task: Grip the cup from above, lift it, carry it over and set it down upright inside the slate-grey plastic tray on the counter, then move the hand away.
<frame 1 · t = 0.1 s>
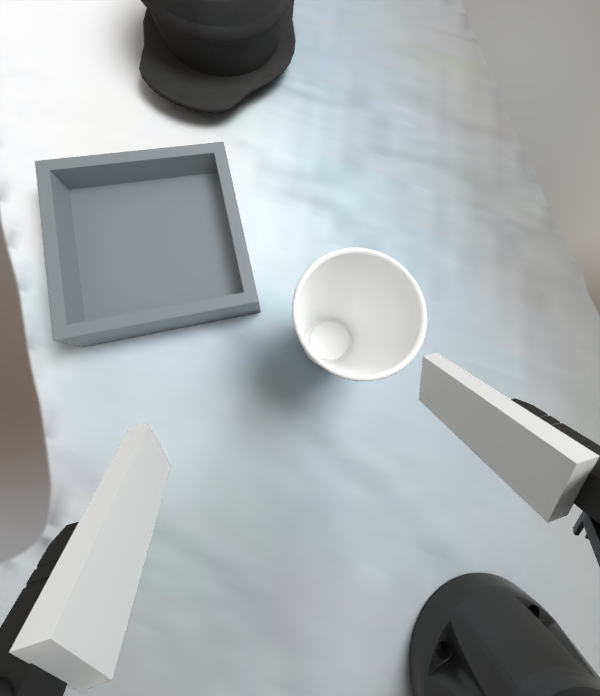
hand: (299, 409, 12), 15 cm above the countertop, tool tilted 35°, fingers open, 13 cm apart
tray: (161, 250, 29), on the countertop
casserole: (224, 53, 35), on the countertop
cup: (328, 341, 29), on the countertop
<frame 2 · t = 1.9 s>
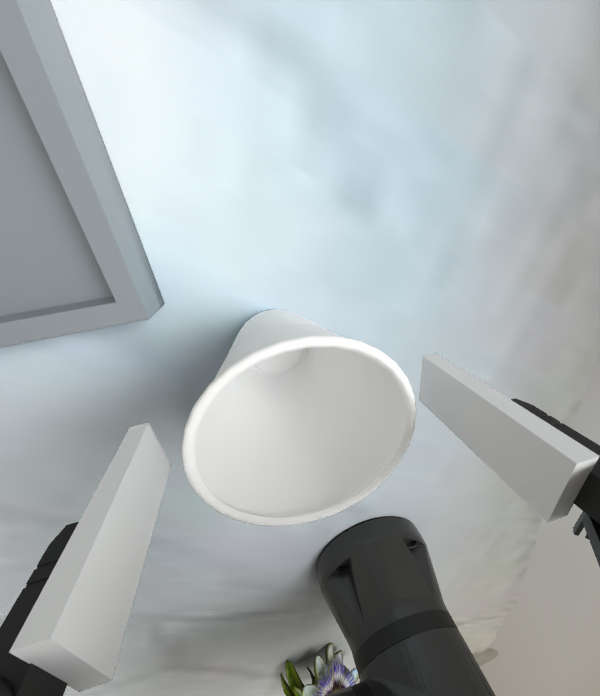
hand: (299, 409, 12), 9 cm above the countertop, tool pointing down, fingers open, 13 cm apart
passion flower: (314, 654, 47), on the countertop
cup: (275, 344, 21), on the countertop
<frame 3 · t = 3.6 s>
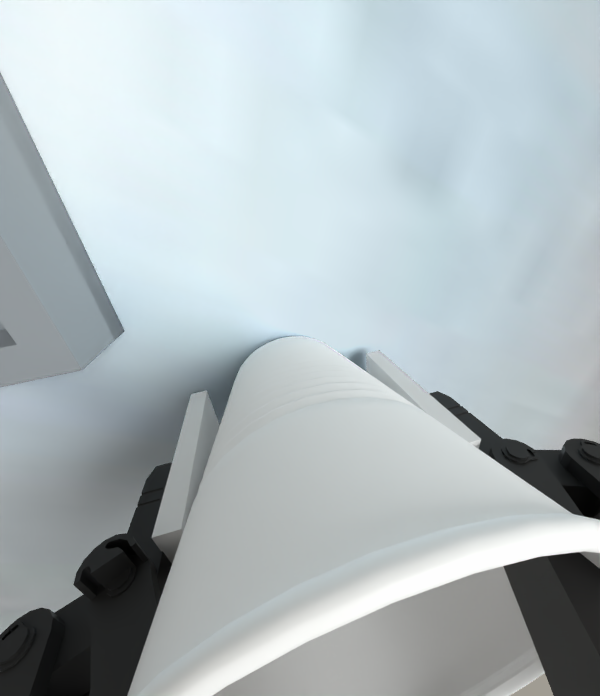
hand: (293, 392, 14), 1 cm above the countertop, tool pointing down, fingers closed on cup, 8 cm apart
cup: (290, 382, 15), on the countertop, touching gripper
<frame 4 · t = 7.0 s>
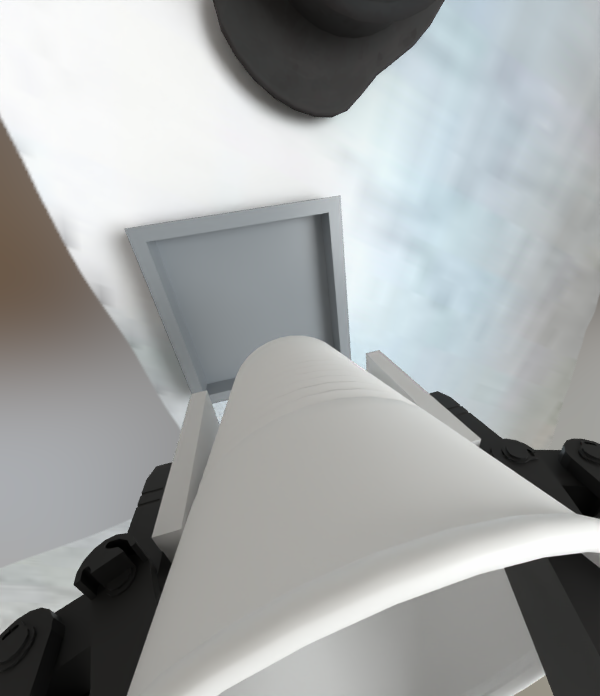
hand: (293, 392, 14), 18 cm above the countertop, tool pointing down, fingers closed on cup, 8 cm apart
tray: (258, 304, 29), on the countertop
cup: (290, 381, 15), point 17 cm above the countertop, touching gripper
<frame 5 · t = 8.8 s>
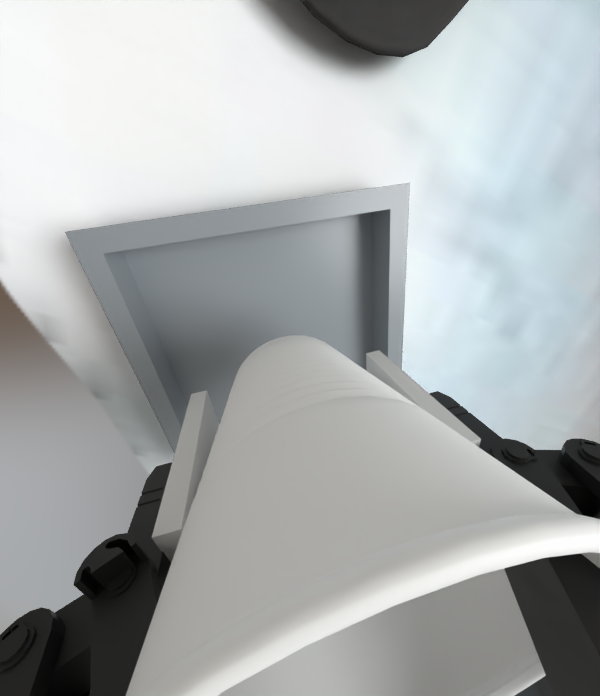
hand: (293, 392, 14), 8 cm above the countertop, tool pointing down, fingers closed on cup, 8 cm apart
tray: (275, 336, 21), on the countertop
cup: (290, 381, 15), point 7 cm above the countertop, touching gripper
when the fingers open (4 cm above the countertop, at t = 10.5 s): cup stays where it is, point 2 cm above the countertop.
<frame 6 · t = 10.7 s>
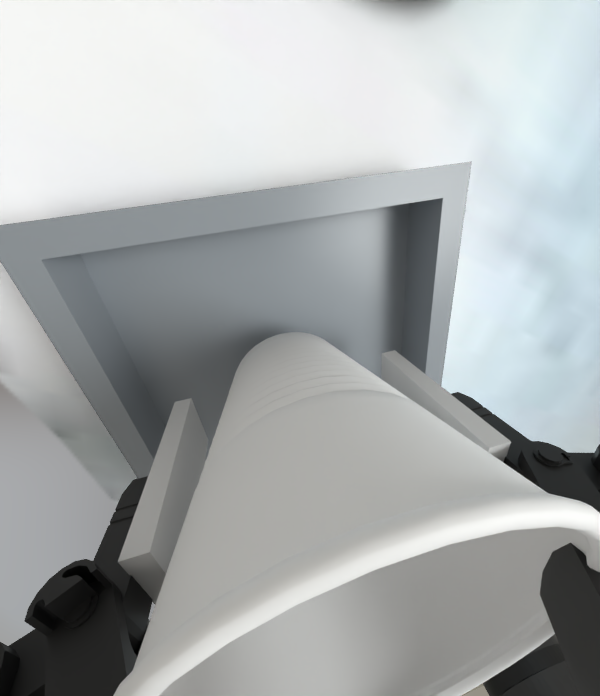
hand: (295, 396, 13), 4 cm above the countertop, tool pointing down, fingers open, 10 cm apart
tray: (282, 359, 17), on the countertop
cup: (289, 377, 15), point 2 cm above the countertop
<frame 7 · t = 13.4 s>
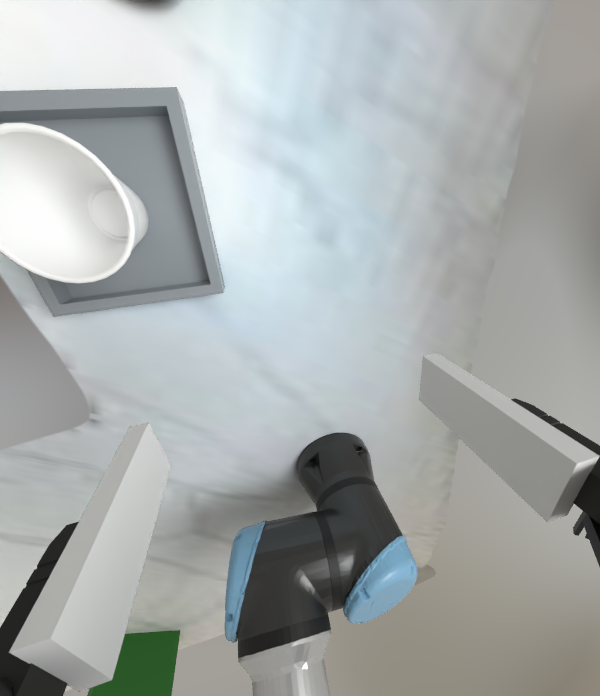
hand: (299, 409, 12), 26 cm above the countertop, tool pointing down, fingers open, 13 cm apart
hardback book: (142, 638, 71), on the countertop
tray: (121, 215, 29), on the countertop
cup: (118, 214, 28), point 1 cm above the countertop, touching tray
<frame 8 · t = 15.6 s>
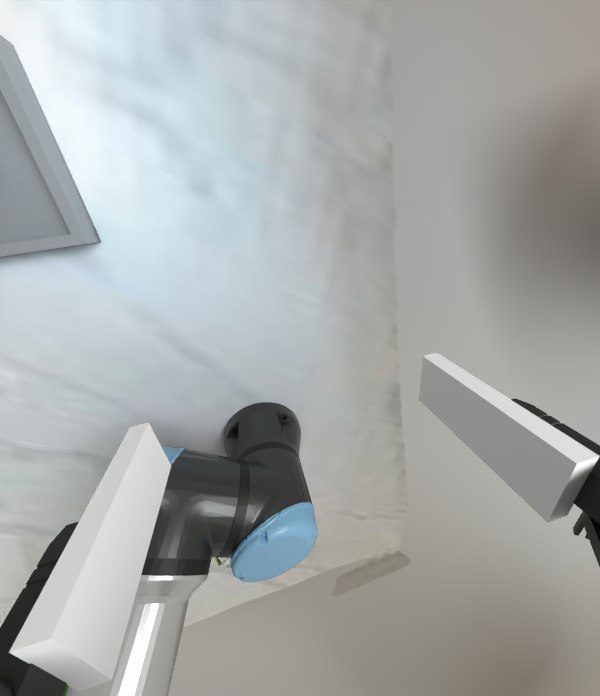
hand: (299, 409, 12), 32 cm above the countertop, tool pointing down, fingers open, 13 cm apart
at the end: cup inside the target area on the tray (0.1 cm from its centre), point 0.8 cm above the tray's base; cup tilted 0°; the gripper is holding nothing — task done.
